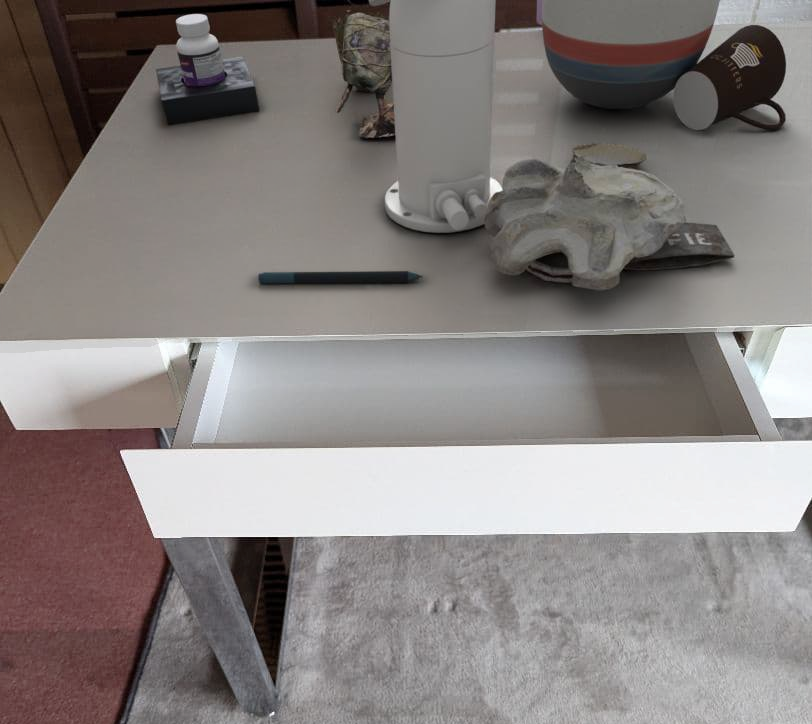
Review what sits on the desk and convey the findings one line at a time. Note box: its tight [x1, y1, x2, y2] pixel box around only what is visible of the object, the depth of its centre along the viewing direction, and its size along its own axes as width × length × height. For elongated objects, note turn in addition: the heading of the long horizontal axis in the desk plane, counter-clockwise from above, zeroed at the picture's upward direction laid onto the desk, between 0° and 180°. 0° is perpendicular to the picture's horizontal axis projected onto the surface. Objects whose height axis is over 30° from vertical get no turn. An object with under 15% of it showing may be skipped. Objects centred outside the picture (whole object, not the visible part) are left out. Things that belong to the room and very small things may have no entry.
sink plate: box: [155, 56, 260, 126], centre depth 106 cm, size 12×12×3 cm
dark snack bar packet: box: [525, 222, 735, 284], centre depth 75 cm, size 8×19×2 cm, turn 93°
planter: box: [541, 0, 721, 110], centre depth 92 cm, size 20×20×21 cm
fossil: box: [484, 154, 687, 291], centre depth 73 cm, size 18×11×15 cm
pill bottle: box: [175, 13, 225, 86], centre depth 104 cm, size 5×5×10 cm
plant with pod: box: [335, 0, 395, 139], centre depth 91 cm, size 8×11×20 cm
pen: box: [257, 270, 424, 284], centre depth 75 cm, size 16×1×1 cm, turn 85°
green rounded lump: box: [332, 12, 389, 93], centre depth 105 cm, size 8×7×8 cm
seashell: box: [571, 142, 647, 169], centre depth 87 cm, size 8×3×8 cm
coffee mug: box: [672, 24, 787, 131], centre depth 92 cm, size 12×9×10 cm
